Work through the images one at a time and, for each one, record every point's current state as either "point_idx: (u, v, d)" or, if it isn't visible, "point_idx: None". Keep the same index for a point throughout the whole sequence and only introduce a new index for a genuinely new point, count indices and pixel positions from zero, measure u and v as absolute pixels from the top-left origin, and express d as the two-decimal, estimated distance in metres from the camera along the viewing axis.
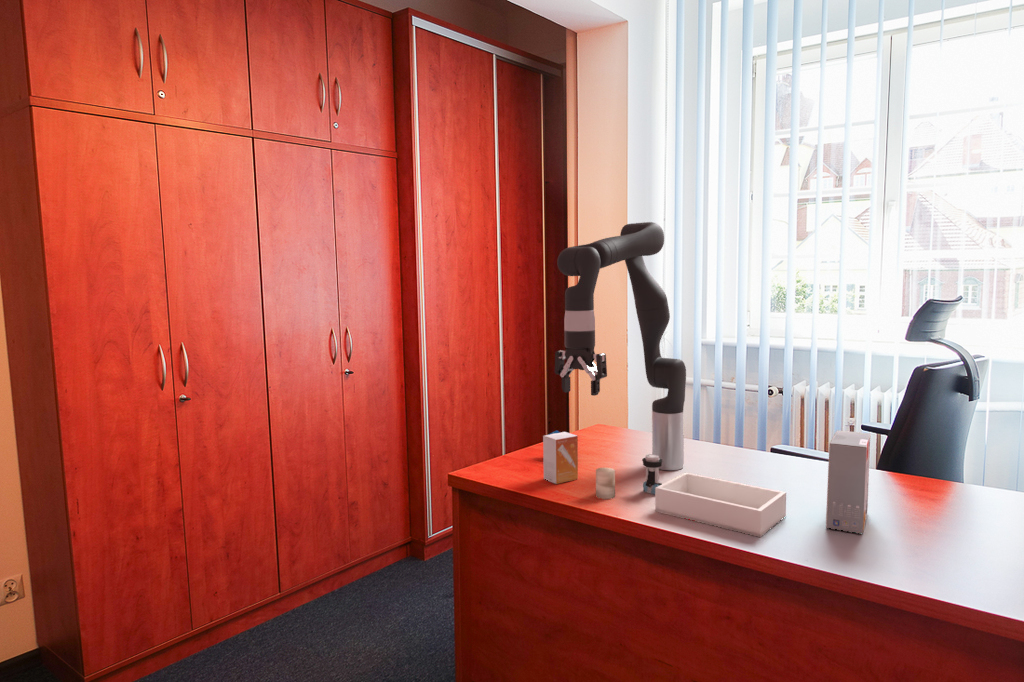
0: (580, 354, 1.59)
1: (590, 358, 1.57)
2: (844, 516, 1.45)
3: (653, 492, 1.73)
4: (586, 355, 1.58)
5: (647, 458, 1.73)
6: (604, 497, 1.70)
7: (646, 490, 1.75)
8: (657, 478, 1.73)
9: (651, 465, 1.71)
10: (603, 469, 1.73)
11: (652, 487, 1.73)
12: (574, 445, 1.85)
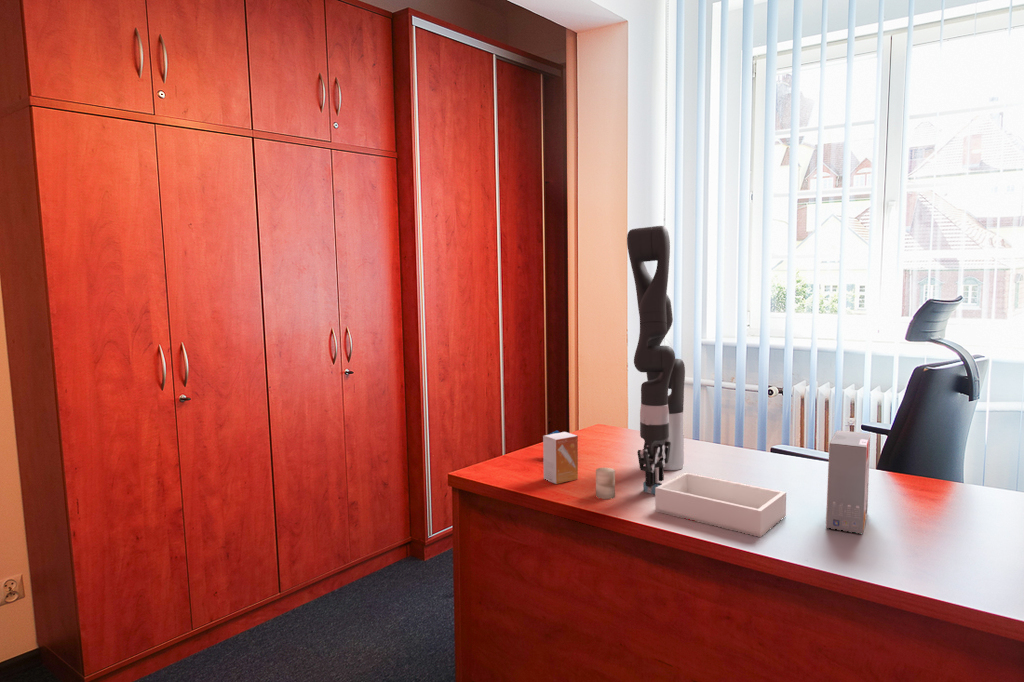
0: (659, 443, 1.72)
1: (664, 445, 1.75)
2: (844, 516, 1.45)
3: (653, 492, 1.73)
4: (663, 442, 1.74)
5: None
6: (604, 497, 1.70)
7: (646, 490, 1.75)
8: (657, 478, 1.73)
9: None
10: (603, 469, 1.73)
11: (652, 487, 1.73)
12: (574, 445, 1.85)
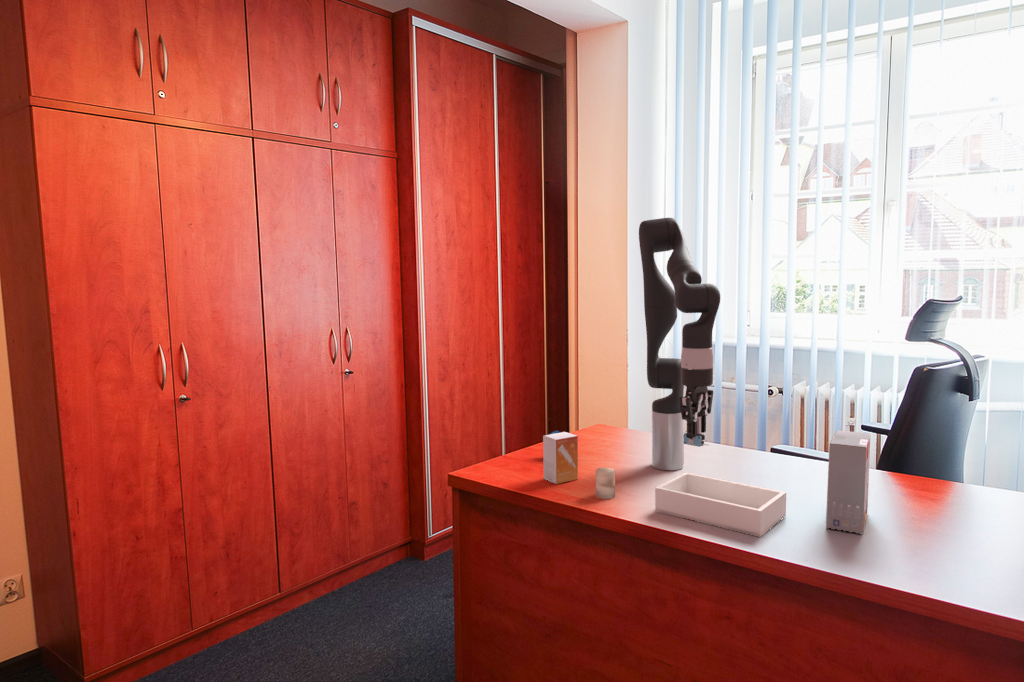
0: (702, 390, 1.59)
1: (706, 393, 1.61)
2: (844, 517, 1.45)
3: (695, 444, 1.59)
4: (706, 389, 1.60)
5: None
6: (604, 497, 1.70)
7: (687, 442, 1.61)
8: (699, 429, 1.59)
9: None
10: (603, 469, 1.73)
11: (694, 438, 1.59)
12: (574, 445, 1.85)
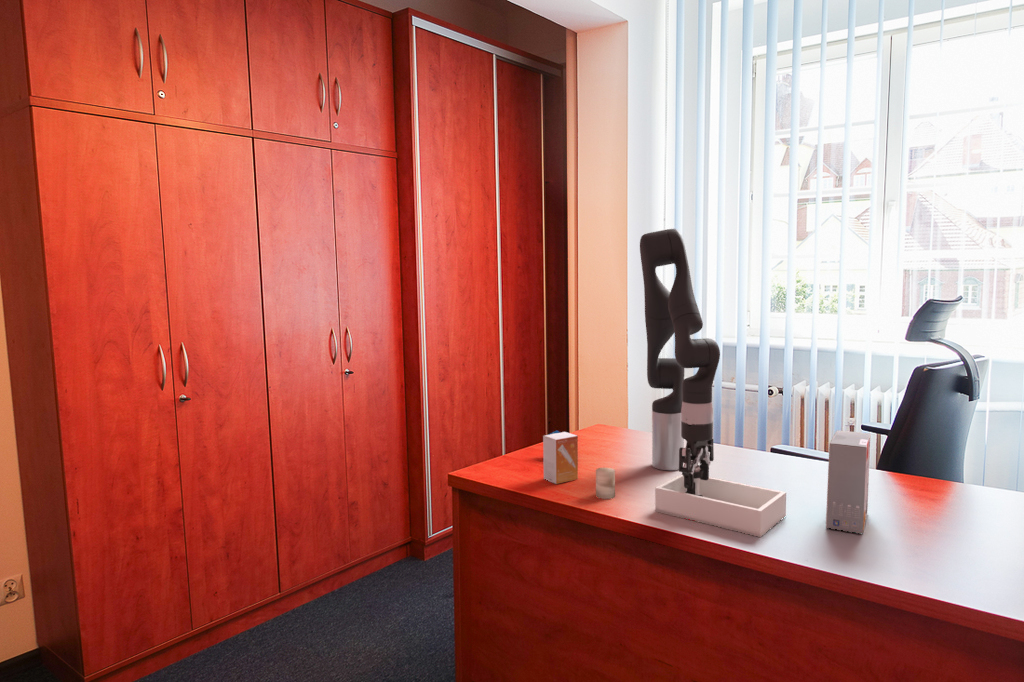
0: (702, 444, 1.60)
1: None
2: (844, 516, 1.45)
3: None
4: (705, 443, 1.61)
5: None
6: (604, 497, 1.70)
7: None
8: (697, 490, 1.60)
9: None
10: (603, 469, 1.73)
11: None
12: (574, 445, 1.85)
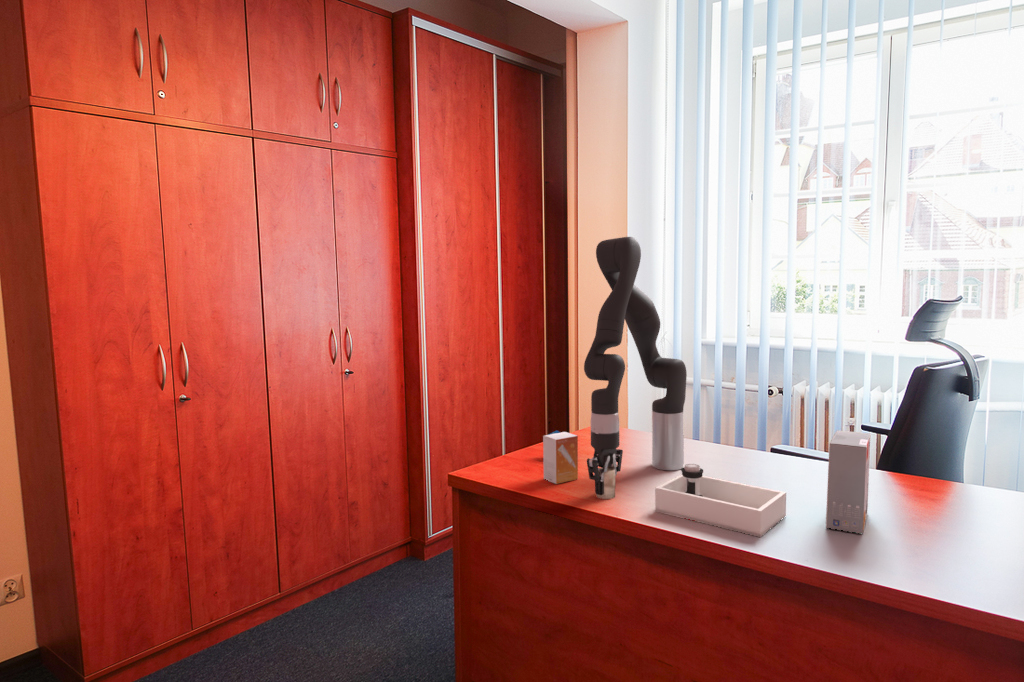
0: (610, 452, 1.71)
1: (615, 453, 1.73)
2: (844, 516, 1.45)
3: None
4: (614, 450, 1.73)
5: (687, 468, 1.60)
6: (604, 497, 1.70)
7: None
8: (697, 490, 1.60)
9: (691, 476, 1.59)
10: None
11: None
12: (574, 445, 1.85)
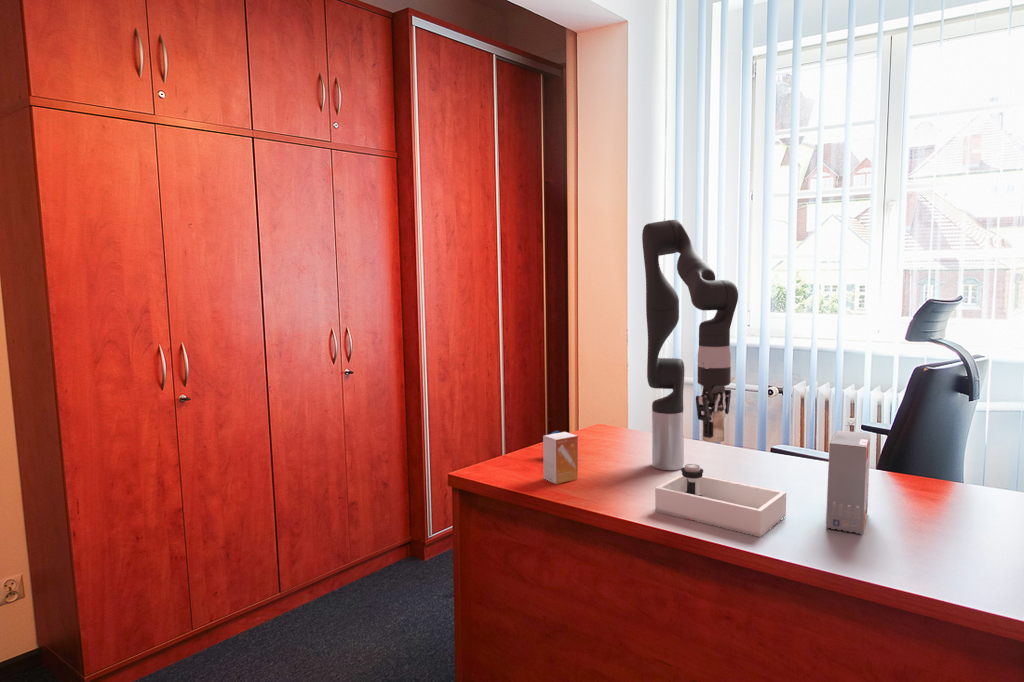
0: (719, 390, 1.54)
1: (724, 393, 1.56)
2: (844, 516, 1.45)
3: None
4: (723, 389, 1.56)
5: (687, 468, 1.60)
6: (713, 440, 1.53)
7: None
8: (697, 490, 1.60)
9: (691, 476, 1.59)
10: None
11: None
12: (574, 445, 1.85)
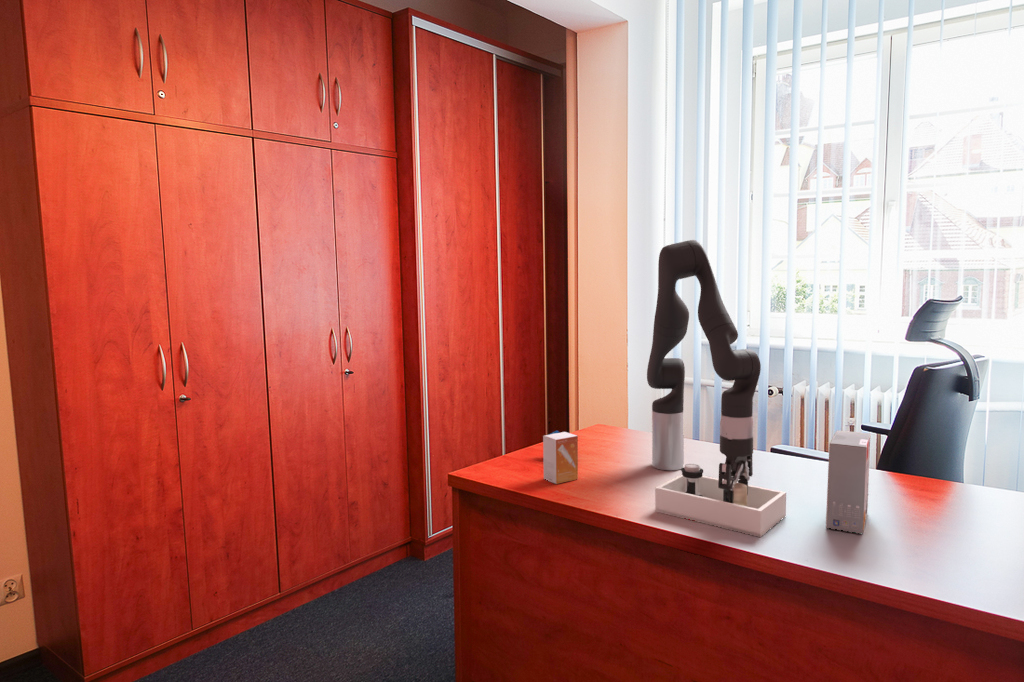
0: (742, 459, 1.54)
1: None
2: (844, 516, 1.45)
3: None
4: (745, 458, 1.55)
5: (687, 468, 1.60)
6: None
7: None
8: (697, 490, 1.60)
9: (691, 476, 1.59)
10: None
11: None
12: (574, 445, 1.85)
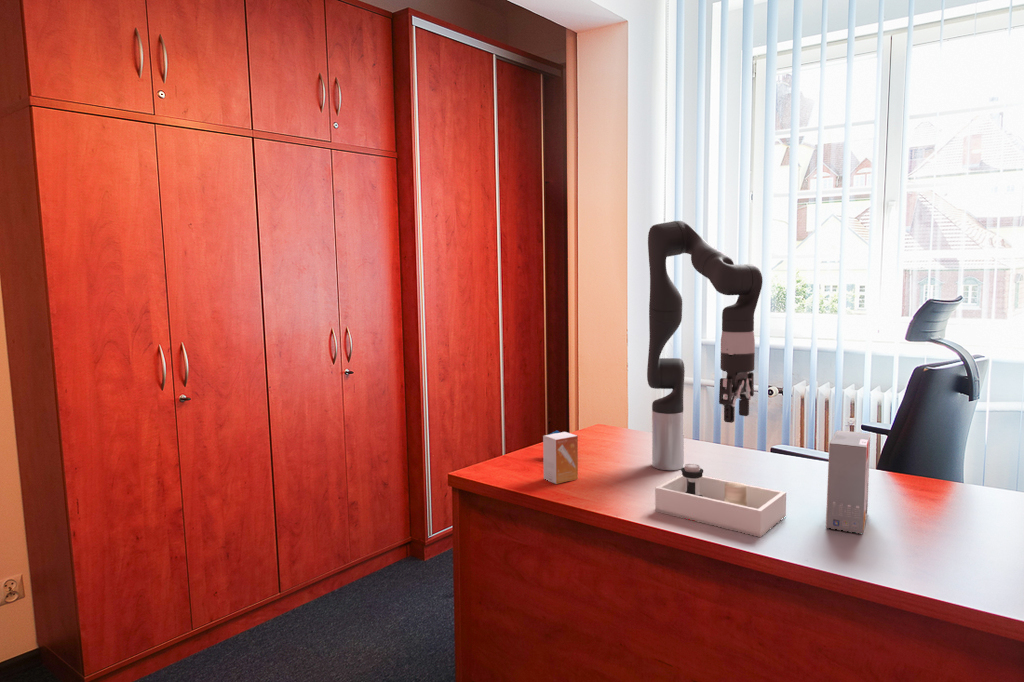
0: (743, 376, 1.52)
1: None
2: (844, 516, 1.45)
3: None
4: (746, 376, 1.53)
5: (687, 468, 1.60)
6: None
7: None
8: (697, 490, 1.60)
9: (691, 476, 1.59)
10: (732, 484, 1.55)
11: None
12: (574, 445, 1.85)
